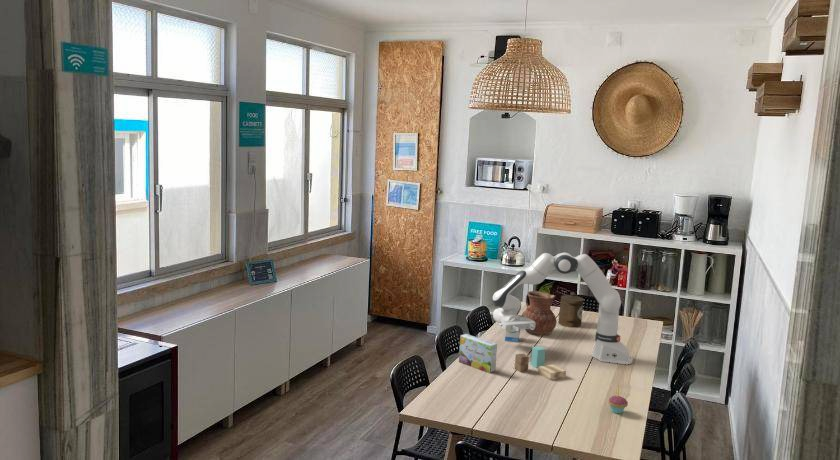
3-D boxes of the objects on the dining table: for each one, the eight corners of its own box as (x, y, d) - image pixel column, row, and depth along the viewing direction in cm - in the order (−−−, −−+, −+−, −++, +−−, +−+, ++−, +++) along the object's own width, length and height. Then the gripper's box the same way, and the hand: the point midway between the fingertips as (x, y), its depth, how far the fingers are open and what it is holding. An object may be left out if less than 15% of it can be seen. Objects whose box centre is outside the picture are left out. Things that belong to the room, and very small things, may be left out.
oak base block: (552, 371, 352) (553, 364, 352) (565, 378, 344) (566, 370, 343) (537, 373, 348) (538, 366, 347) (550, 380, 339) (550, 373, 338)
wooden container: (583, 328, 435) (586, 295, 432) (560, 326, 435) (563, 294, 432) (578, 321, 450) (581, 290, 447) (556, 320, 450) (559, 288, 447)
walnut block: (522, 367, 354) (523, 353, 353) (527, 371, 350) (529, 356, 349) (514, 368, 352) (515, 354, 351) (519, 372, 348) (521, 357, 347)
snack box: (457, 362, 357) (459, 335, 355) (464, 360, 362) (466, 333, 359) (489, 373, 343) (491, 345, 341) (496, 371, 347) (498, 343, 345)
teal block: (538, 363, 362) (539, 346, 360) (543, 367, 358) (545, 349, 356) (530, 364, 360) (532, 347, 358) (536, 368, 355) (537, 350, 354)
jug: (560, 332, 423) (563, 294, 419) (547, 340, 405) (551, 300, 402) (528, 325, 435) (531, 288, 431) (514, 332, 417) (517, 293, 413)
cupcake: (604, 407, 308) (607, 382, 306) (622, 407, 309) (625, 383, 307) (611, 415, 299) (614, 390, 298) (629, 415, 300) (632, 390, 298)
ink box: (518, 342, 398) (520, 323, 396) (504, 340, 400) (506, 321, 398) (519, 338, 406) (521, 319, 405) (505, 336, 408) (507, 318, 406)
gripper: (497, 317, 374) (511, 324, 362) (527, 315, 383) (541, 322, 371) (496, 328, 375) (510, 336, 363) (526, 326, 384) (540, 333, 372)
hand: (526, 329), depth 367 cm, fingers open, 8 cm apart
